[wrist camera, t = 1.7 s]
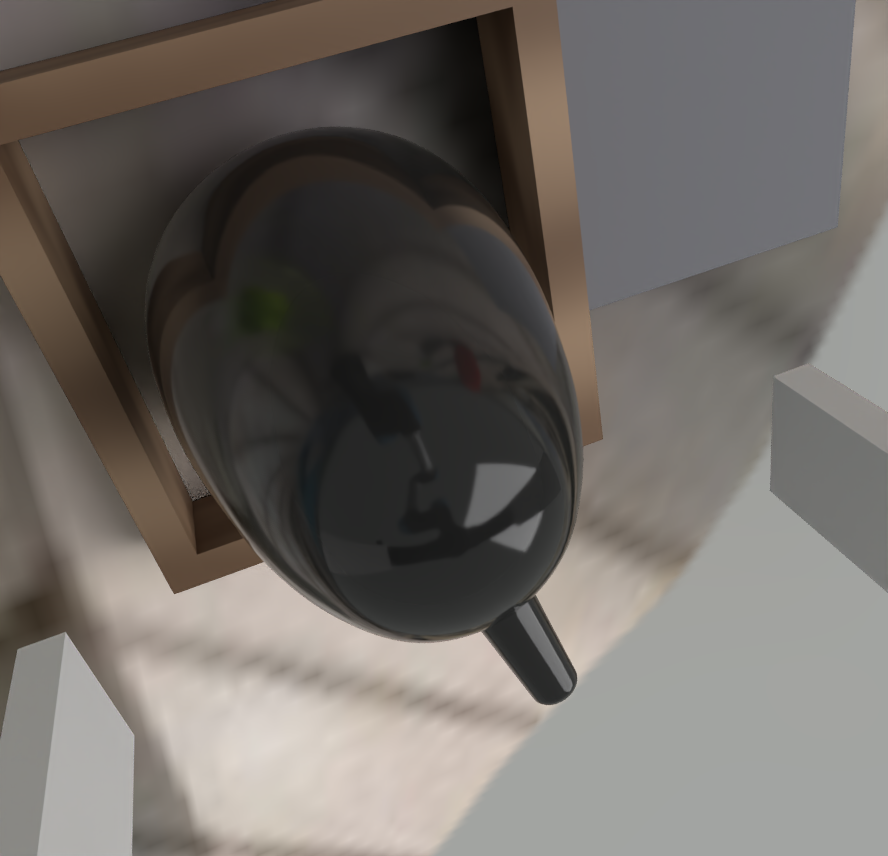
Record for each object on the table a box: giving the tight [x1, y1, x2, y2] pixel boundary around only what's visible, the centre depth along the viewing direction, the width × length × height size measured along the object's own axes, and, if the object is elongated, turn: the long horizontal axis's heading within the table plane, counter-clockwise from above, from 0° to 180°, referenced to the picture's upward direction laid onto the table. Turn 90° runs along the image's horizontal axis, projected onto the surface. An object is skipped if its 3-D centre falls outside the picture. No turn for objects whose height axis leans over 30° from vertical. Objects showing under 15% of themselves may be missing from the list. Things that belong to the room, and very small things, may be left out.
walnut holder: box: [0, 0, 603, 594], centre depth 24 cm, size 15×15×3 cm
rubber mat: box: [556, 0, 856, 310], centre depth 26 cm, size 12×11×1 cm
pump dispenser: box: [145, 127, 583, 705], centre depth 20 cm, size 10×10×15 cm
